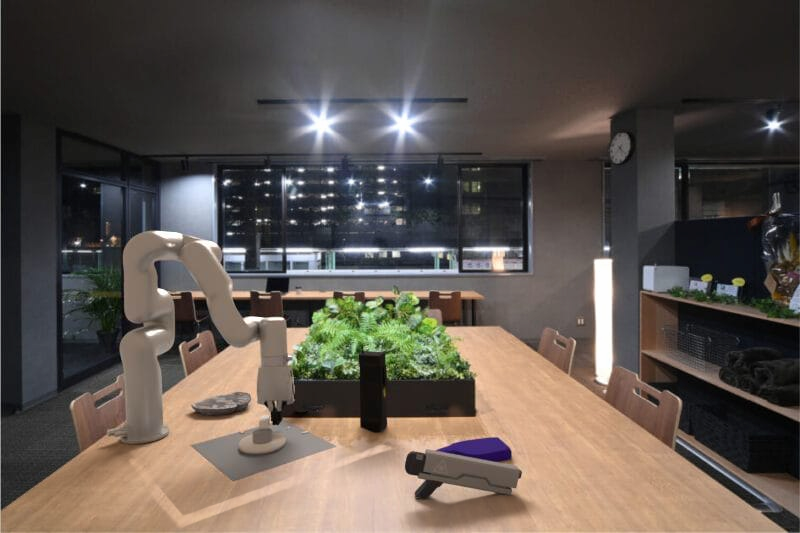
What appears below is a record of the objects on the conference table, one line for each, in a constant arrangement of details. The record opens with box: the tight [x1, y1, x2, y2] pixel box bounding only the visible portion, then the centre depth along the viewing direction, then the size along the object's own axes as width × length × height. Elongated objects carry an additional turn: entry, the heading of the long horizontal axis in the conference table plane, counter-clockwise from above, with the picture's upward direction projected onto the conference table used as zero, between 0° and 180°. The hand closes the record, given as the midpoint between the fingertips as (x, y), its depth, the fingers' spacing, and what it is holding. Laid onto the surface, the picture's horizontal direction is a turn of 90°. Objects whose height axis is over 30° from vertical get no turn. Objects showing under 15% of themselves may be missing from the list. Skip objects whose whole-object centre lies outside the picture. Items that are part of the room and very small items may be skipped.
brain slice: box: [190, 391, 252, 416], centre depth 166 cm, size 20×17×3 cm
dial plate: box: [190, 419, 337, 482], centre depth 130 cm, size 28×28×2 cm
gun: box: [404, 448, 523, 500], centre depth 105 cm, size 2×25×10 cm, turn 93°
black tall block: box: [358, 344, 389, 433], centre depth 145 cm, size 8×6×25 cm
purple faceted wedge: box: [434, 436, 513, 463], centre depth 124 cm, size 3×11×24 cm
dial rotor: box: [239, 414, 286, 454], centre depth 133 cm, size 18×12×4 cm, turn 12°
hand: (276, 423), depth 141 cm, fingers closed
